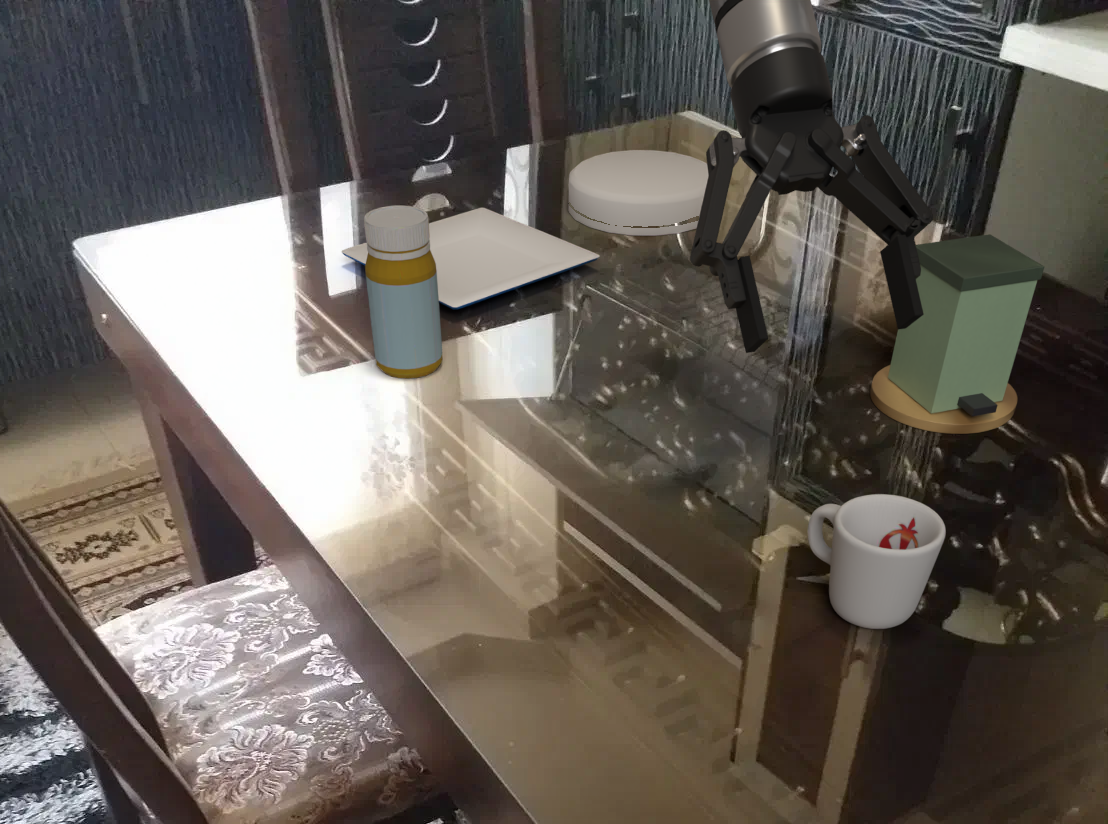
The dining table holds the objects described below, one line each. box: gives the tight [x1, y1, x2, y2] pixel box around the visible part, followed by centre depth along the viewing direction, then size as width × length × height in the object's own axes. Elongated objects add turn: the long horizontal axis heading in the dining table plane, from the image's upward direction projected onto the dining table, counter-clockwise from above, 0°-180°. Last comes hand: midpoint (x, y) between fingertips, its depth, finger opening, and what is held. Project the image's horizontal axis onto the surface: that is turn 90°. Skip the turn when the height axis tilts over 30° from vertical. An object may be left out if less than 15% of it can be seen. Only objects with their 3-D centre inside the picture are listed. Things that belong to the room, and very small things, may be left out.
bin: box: [888, 234, 1045, 416], centre depth 108 cm, size 11×8×13 cm
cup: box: [807, 493, 947, 630], centre depth 87 cm, size 11×8×8 cm
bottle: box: [363, 205, 443, 380], centre depth 115 cm, size 7×7×15 cm
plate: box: [341, 207, 601, 310], centre depth 138 cm, size 22×22×2 cm
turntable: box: [869, 364, 1018, 435], centre depth 114 cm, size 14×14×1 cm
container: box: [567, 149, 709, 237], centre depth 152 cm, size 20×20×5 cm
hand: (835, 334), depth 91 cm, fingers open, 13 cm apart
